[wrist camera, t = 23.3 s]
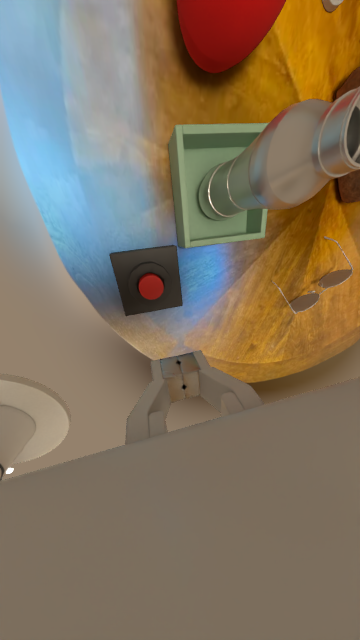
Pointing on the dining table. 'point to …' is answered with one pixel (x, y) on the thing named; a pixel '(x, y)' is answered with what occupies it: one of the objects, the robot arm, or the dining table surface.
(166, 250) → the block
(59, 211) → the dining table surface
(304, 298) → the sunglasses
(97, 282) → the dining table surface
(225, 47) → the tomato
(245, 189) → the metal bottle
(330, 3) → the phone holder
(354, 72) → the bread
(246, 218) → the tray
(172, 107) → the dining table surface
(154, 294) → the button
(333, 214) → the dining table surface
